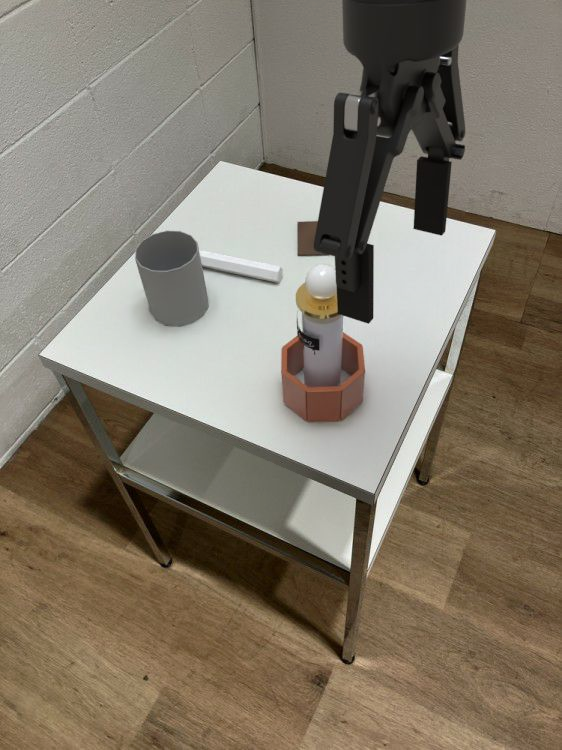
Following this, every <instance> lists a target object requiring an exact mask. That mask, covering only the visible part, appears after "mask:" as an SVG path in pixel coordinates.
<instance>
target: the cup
mask: <svg viewBox="0 0 562 750" xmlns="http://www.w3.org/2000/svg"><path fill="white" fill-rule="evenodd" d="M199 247H200V246H199V242H198V241H197V240H196V239H195V238H194V237H193V235H192V234H189V233H187V232H183V231H181V230H163V231H159V232H155V233H153V234H151V235H149V236H147V237H146V238H144V239H142V240H141V241H140V243H138V245H137V247H135V250H134V252H135V253H134V261H135V265H136V267H137V271H138V274H139V278H140V280H141V284H142V288H143V291H144V294H145V299H146V301H147V305H148V308H149V312H150V314H151V315H152V317H153V319H154V320H155V321H156V322H158V323H159V324H162V325H164V326H167V327H183V326H187V325H189V324H193V323H194V322H196V321H198V320H199V319H201V318H202V317H204V315H205V313H206V312H207V310H208V308H209V295H208V290H207V284H206V279H205V275H204V270H203V268H204V267H202V263H201V258H200V253H199V250H200V248H199Z"/></svg>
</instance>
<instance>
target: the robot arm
mask: <svg viewBox="0 0 562 750" xmlns="http://www.w3.org/2000/svg"><path fill="white" fill-rule="evenodd" d="M341 5H342V7H341V8H342V11H341V12H342V40H343V47H344V48H345V50H346V51H347V52H348V53H349V54H350V55H351V56H353V57H355V58H356V59H357V60H358V61H359V62H360V63H361V65H362V76H361V81H360V86H359V91H358V92H356V93H346V92H338V93H337V94H336V96H335V97H334V102H333V127H332V128H333V129H332V130H333V131H332V132H333V133H332V140H331V145H330V150H329V157H328V162H327V167H326V172H325V173H326V174H325V179H324V182H323V183H324V185H323V188H322V196H321V201H320V206H319V211H318V212H319V213H318V217H317V221H318V223H317V228H316V234H315V240H314V250H315V251H317V252H321V253H324V254H328V255H327V256H332V257H334V268H335V271H336V272H335V274H336V286H337V308H338V314H340V315H343V317H346V318H348V319H352V320H355V321H359V322H361V323H365V324H371V322H372V321H373V319H374V295H375V294H374V291H375V289H374V288H375V287H374V284H375V283H374V279H375V278H374V275H375V273H374V272H375V271H374V270H375V269H374V268H375V267H374V265H375V264H374V263H375V261H374V260H375V259H374V258H375V256H374V255H375V254H374V253H375V252H374V251H375V245H374V244H371V243H368V242H369V239H370V235H371V233H372V230H373V226H374V222H375V221H376V220H375V219H376V217H377V213H378V209H379V207H380V203H381V200H382V197H383V193H384V190H385V187H386V184H387V180H388V177H389V175H390V171H391V167H392V164H393V161H394V159H395V158H396V157H398V156H400V155H401V154H402V153H403V151H404V150H405V146H406V143H407V140H408V136H409V134H410V132H411V131H412V133H413V136H414V137H415V139H416V141H417V144H418V145H419V147H420V149H421V151H422V153H423V154H424V155H427V156H419V158H417V159H416V173H415V193H414V209H413V211H414V212H413V230H416V231H420V232H424V233H429V234H433V235H438V236H443V235H444V234H445V233H446V229H447V218H448V206H449V197H450V187H451V186H450V185H451V176H452V175H451V173H452V163H453V161H450V159H451V160H452V159H454V160H458V161H462V160H463V157H464V155H465V152H466V145H465V144H459V143H457V142H463V140H464V138H465V137H466V121H465V113H464V104H463V103H464V102H463V96H462V86H461V85H462V84H461V79H460V69H459V45H460V43H461V41H462V40H463V37H464V33H465V32H464V30H465V19H466V8H467V0H341Z"/></svg>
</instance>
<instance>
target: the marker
mask: <svg viewBox="0 0 562 750" xmlns="http://www.w3.org/2000/svg"><path fill="white" fill-rule="evenodd" d="M199 253H200V258H201V263H202V268H206V269H210V270H215V271H220V272H224V273H230V274H234V275H239V276H244V277H249V278H253V279H257V280H261V281H267V282H273V283H277V284H279V283H280V282H281V279H282V278H283V268H282V267H281V266H279V265H274V264H271V263H264V262H260V261H254V260H250V259H245V258H241V257H235V256H230V255H225V254H220V253H216V252H212V251H207V250H202V249H199Z"/></svg>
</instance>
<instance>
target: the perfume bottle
mask: <svg viewBox="0 0 562 750" xmlns="http://www.w3.org/2000/svg"><path fill="white" fill-rule="evenodd" d="M335 272H336V271H335V267H333V266H332V265H330V264H326V263H320V264H319V263H318V264H316V265H314V266H313V267H311V268H310V269H309V270H308V272H307V273H306V277H305V281H304V282H303V283H302V284H301V285H300V286H299V287H298V289H296V292H295V305H296V307H297V309H298V311H297V312H296V315H298V313H299V311H300V312H301V326H302V328H300V325H299V321H298V320H299V319H298V317H296V336H297V335H299V336H297V338H299V340H300V339H301V337H302V339H303V340H302V339H301V340H300V341H301V343H302V344H303V360H304V368H303V383H304V384H305V385H306V386H308V387H332V386H340V385H341V384H342V369H341V366H342V339H343V332H344V316H343V315H340V314H338V308H337V286H336V274H335ZM301 329H302V330H301ZM302 331H303V332H302Z"/></svg>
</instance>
